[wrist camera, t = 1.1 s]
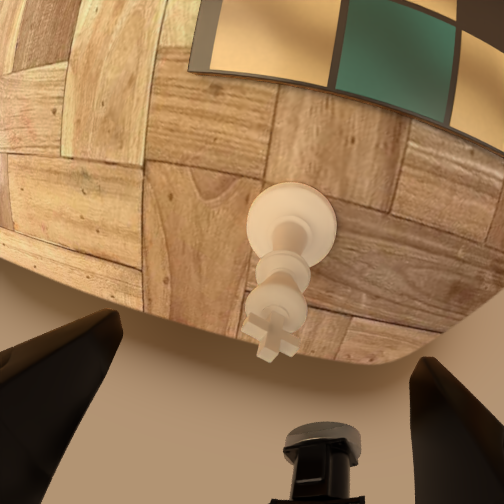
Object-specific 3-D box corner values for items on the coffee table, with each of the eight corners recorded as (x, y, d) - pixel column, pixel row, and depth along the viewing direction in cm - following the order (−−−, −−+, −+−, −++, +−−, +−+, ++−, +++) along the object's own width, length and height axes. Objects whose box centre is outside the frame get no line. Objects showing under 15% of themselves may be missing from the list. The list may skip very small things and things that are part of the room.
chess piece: (305, 280, 18) (292, 425, 9) (232, 238, 18) (158, 360, 9) (354, 213, 16) (399, 334, 7) (275, 164, 16) (225, 233, 7)
